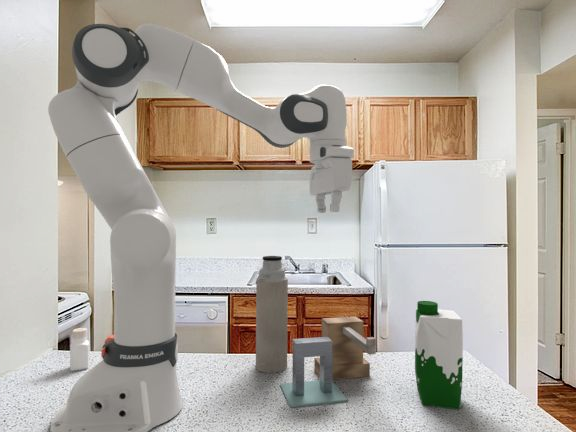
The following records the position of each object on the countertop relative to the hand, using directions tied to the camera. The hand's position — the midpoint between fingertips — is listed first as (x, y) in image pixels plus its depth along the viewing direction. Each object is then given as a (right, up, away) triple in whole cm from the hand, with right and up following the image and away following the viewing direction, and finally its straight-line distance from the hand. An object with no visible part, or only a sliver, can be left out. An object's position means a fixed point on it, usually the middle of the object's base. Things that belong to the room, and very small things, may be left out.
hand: (327, 212), depth 88 cm
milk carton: (+22, -39, -12) cm, 47 cm away
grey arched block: (-4, -39, -10) cm, 40 cm away
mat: (-4, -39, -9) cm, 40 cm away
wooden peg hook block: (+5, -39, -6) cm, 40 cm away
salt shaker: (-62, -39, +3) cm, 73 cm away
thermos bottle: (-14, -39, +5) cm, 42 cm away
